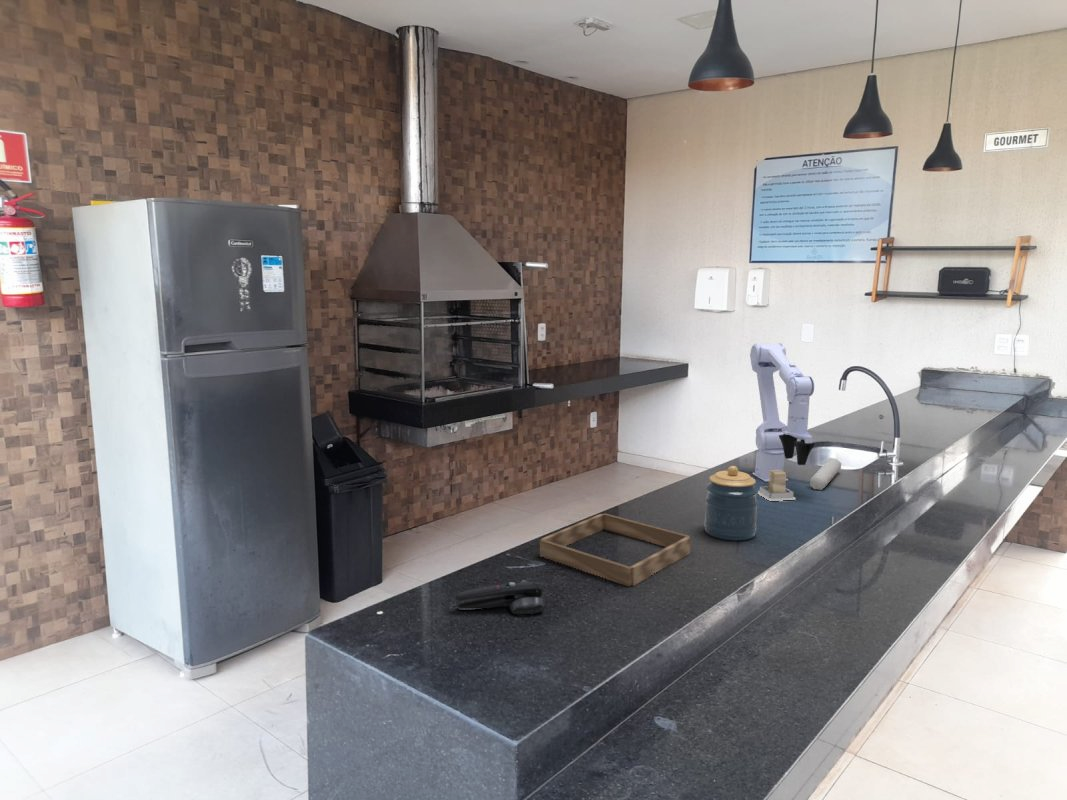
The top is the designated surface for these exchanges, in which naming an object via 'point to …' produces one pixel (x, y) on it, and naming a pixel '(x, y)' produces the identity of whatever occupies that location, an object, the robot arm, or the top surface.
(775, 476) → the wooden block
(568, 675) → the top surface
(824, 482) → the tube
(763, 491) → the white square tray
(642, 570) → the wooden frame
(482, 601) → the can opener
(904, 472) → the top surface
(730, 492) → the canister
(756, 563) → the top surface
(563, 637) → the top surface
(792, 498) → the tile
